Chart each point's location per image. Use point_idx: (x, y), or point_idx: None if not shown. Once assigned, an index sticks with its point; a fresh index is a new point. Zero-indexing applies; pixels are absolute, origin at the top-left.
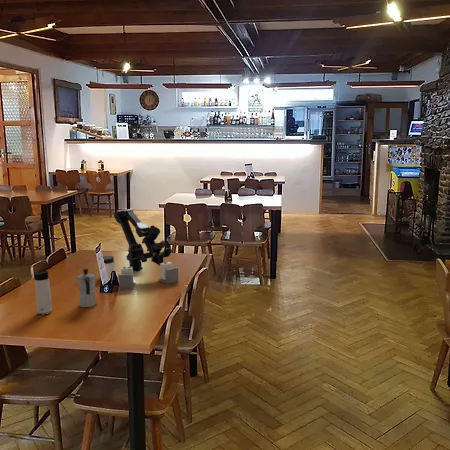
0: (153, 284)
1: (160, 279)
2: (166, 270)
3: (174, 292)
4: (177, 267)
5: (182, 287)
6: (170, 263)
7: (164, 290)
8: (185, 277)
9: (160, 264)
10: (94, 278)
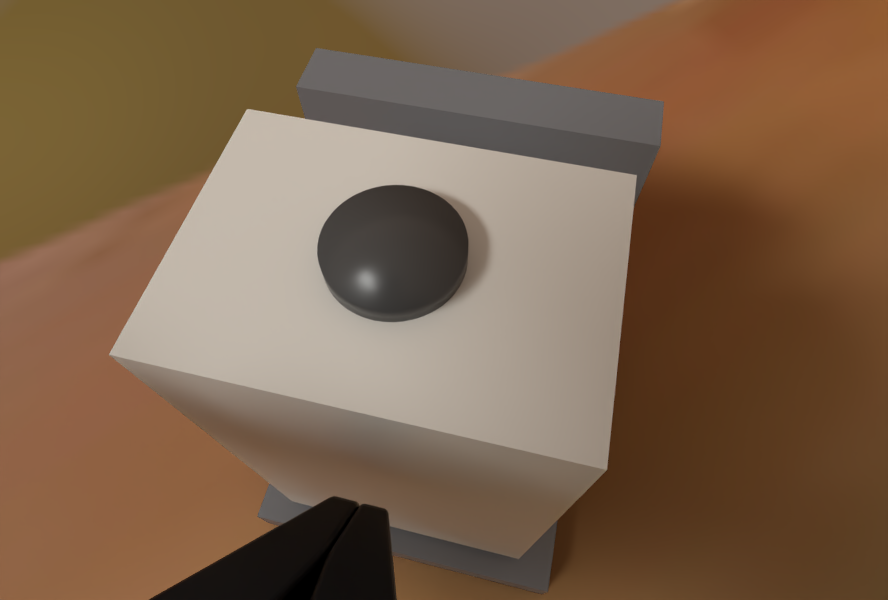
0: (777, 528)
1: (538, 541)
2: (657, 145)
3: (761, 52)
4: (320, 55)
5: (557, 79)
6: (329, 131)
7: (816, 175)
8: (119, 289)
9: (602, 430)
10: None
